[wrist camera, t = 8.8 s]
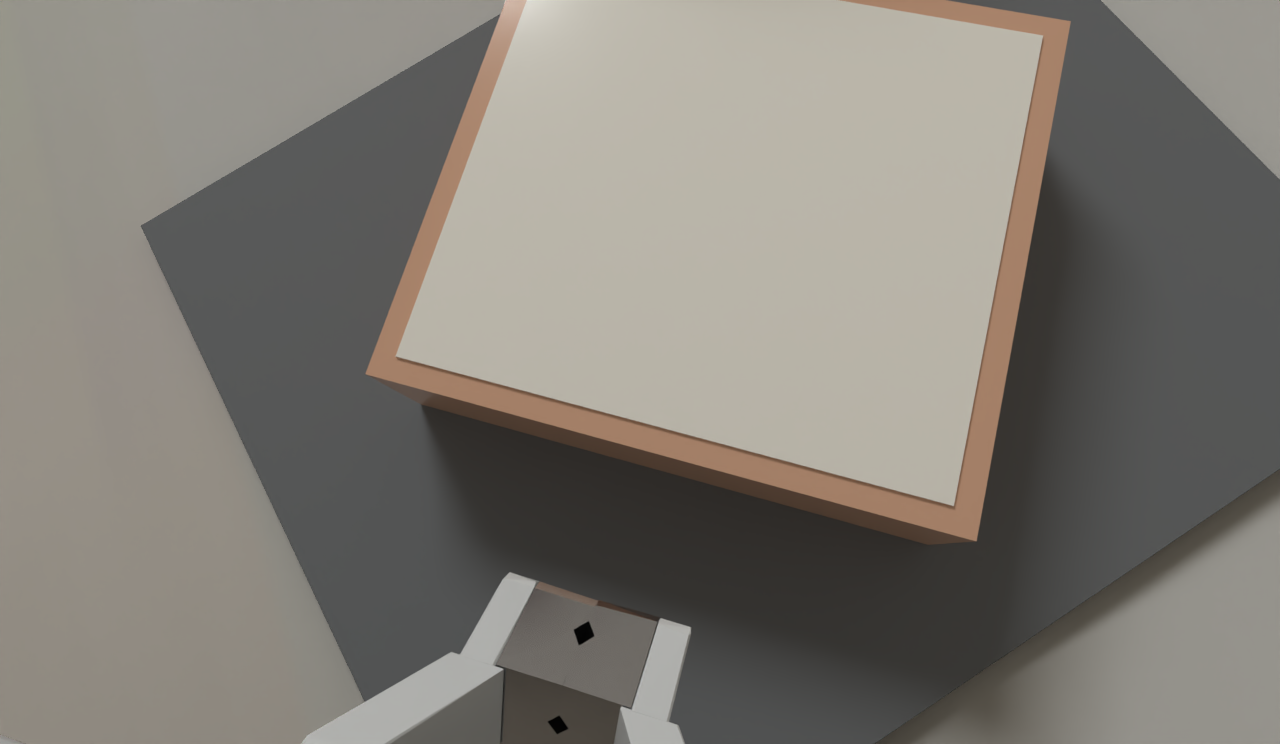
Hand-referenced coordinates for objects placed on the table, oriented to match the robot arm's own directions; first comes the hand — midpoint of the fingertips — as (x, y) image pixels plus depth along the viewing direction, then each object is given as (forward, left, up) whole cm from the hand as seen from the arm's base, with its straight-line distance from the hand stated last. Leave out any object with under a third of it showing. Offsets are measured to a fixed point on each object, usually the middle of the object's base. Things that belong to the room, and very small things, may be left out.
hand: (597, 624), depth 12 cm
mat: (+6, +5, -5) cm, 9 cm away
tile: (+2, +2, -3) cm, 5 cm away
